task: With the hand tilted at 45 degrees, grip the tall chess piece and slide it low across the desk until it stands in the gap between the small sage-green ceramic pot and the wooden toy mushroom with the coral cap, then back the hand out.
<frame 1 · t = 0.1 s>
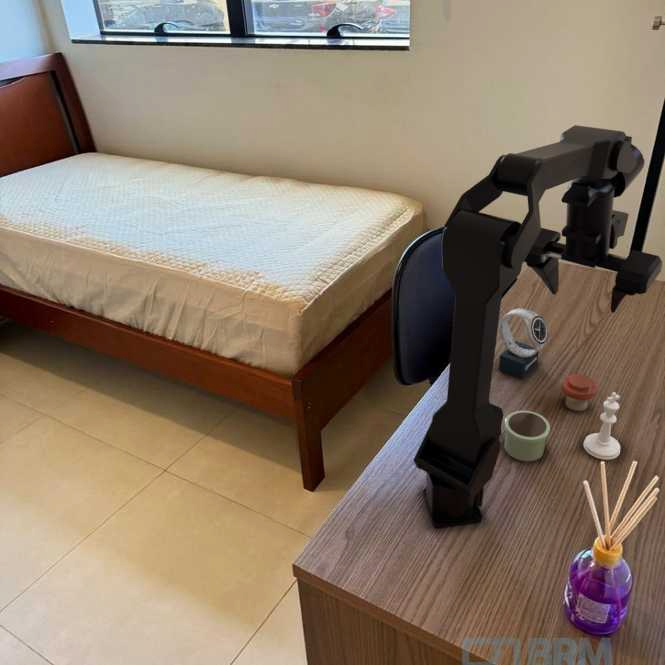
hand: (583, 301, 93), 15 cm above the table, tool pointing down, fingers open, 9 cm apart
chess piece: (601, 448, 88), on the table
watch: (518, 367, 106), on the table
pot: (523, 447, 89), on the table
mushroom: (576, 404, 96), on the table
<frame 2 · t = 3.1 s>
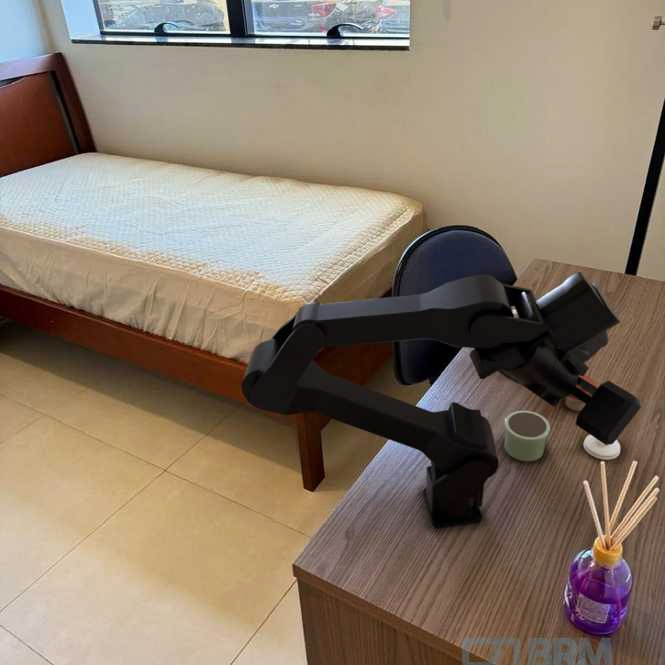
hand: (584, 401, 79), 12 cm above the table, tool tilted 45°, fingers open, 9 cm apart
nothing on the table moved.
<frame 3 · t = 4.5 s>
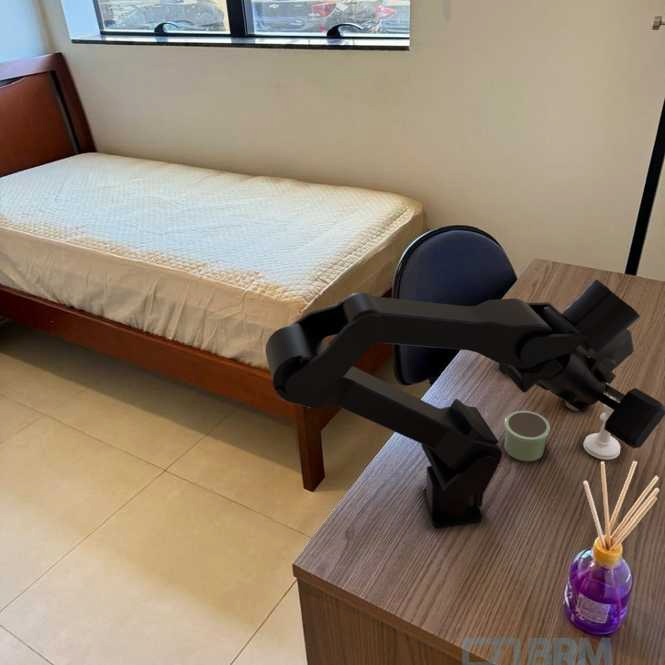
hand: (608, 406, 83), 8 cm above the table, tool tilted 45°, fingers open, 9 cm apart
nothing on the table moved.
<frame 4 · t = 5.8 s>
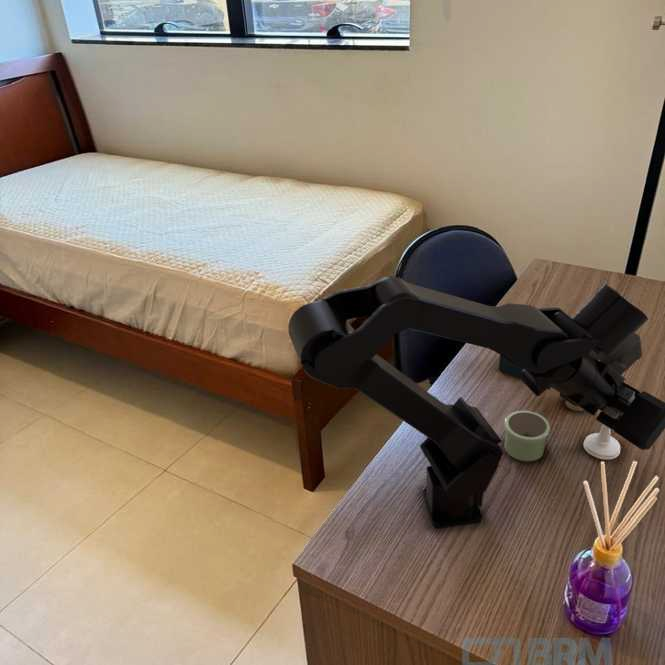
hand: (616, 408, 85), 7 cm above the table, tool tilted 45°, fingers closed on chess piece
chess piece: (601, 448, 88), on the table, touching gripper
everything else where it was.
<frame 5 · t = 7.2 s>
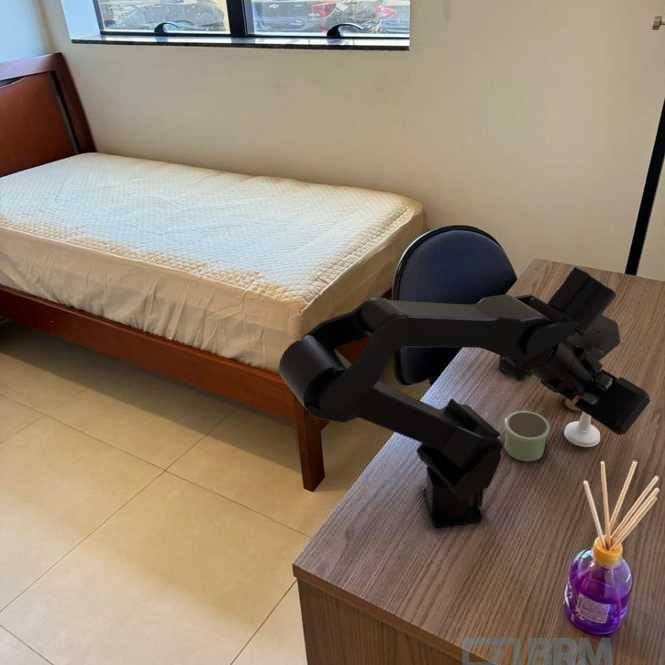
hand: (596, 396, 86), 7 cm above the table, tool tilted 45°, fingers closed on chess piece
chess piece: (581, 436, 89), point 1 cm above the table, touching gripper
everything else where it was.
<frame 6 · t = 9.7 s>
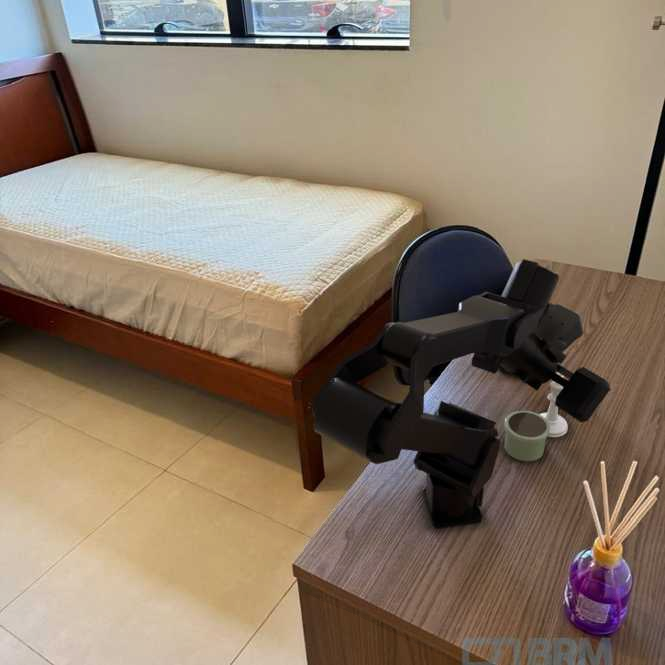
hand: (563, 386, 90), 7 cm above the table, tool tilted 45°, fingers open, 9 cm apart
chess piece: (550, 427, 93), on the table
everything else where it was.
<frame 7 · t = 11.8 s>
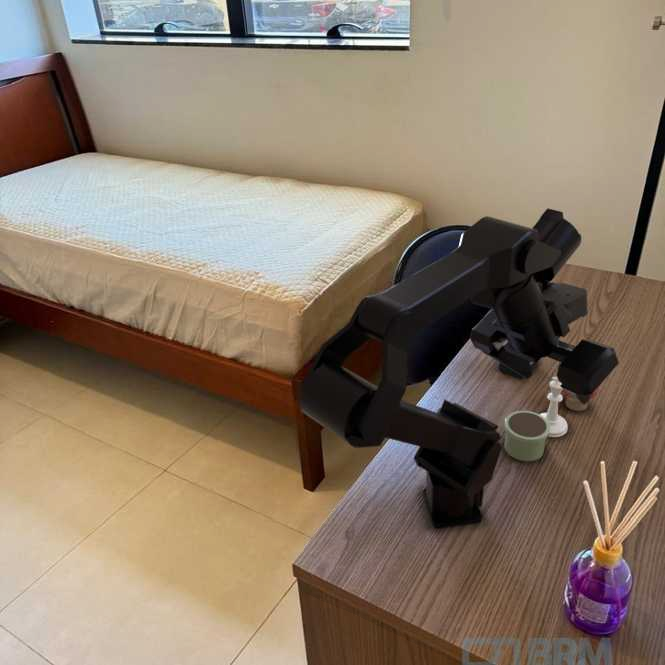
hand: (556, 388, 81), 12 cm above the table, tool tilted 25°, fingers open, 9 cm apart
nothing on the table moved.
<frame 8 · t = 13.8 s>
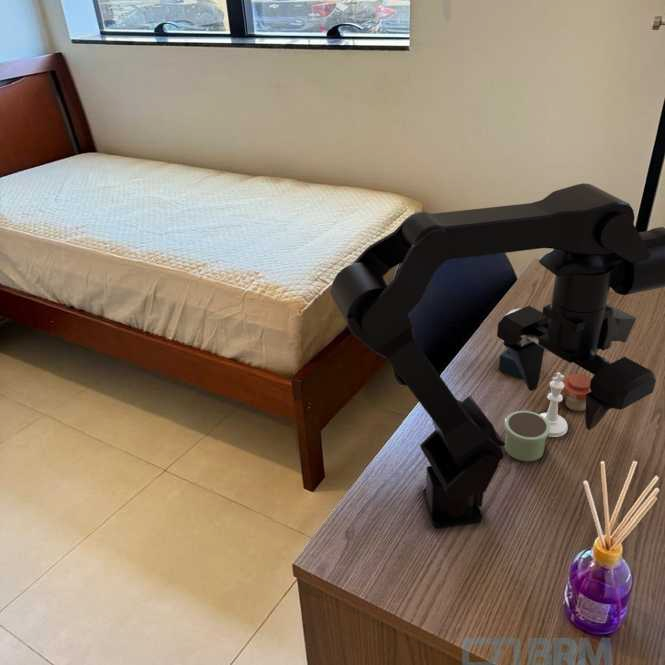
hand: (560, 408, 76), 13 cm above the table, tool pointing down, fingers open, 9 cm apart
nothing on the table moved.
at the end: chess piece 6.7 cm from the pot (horizontally); chess piece 7.3 cm from the mushroom (horizontally); chess piece tilted 0° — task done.
